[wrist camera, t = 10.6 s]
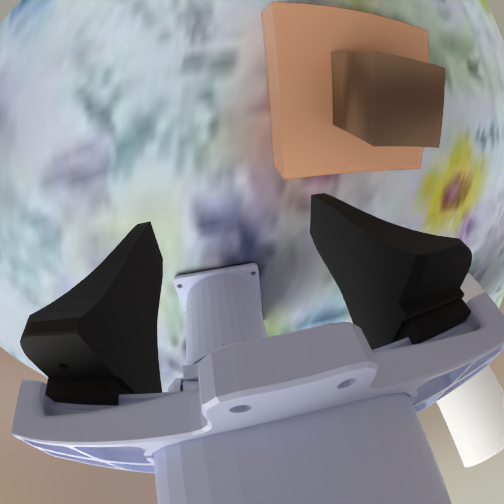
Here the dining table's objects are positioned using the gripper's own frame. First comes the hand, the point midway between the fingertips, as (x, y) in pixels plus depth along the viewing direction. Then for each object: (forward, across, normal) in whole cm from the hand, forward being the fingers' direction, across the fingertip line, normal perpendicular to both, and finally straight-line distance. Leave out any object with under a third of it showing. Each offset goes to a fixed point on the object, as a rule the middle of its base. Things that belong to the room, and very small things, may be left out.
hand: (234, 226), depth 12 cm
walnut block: (+6, -10, -5) cm, 13 cm away
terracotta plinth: (+9, -10, -5) cm, 15 cm away
